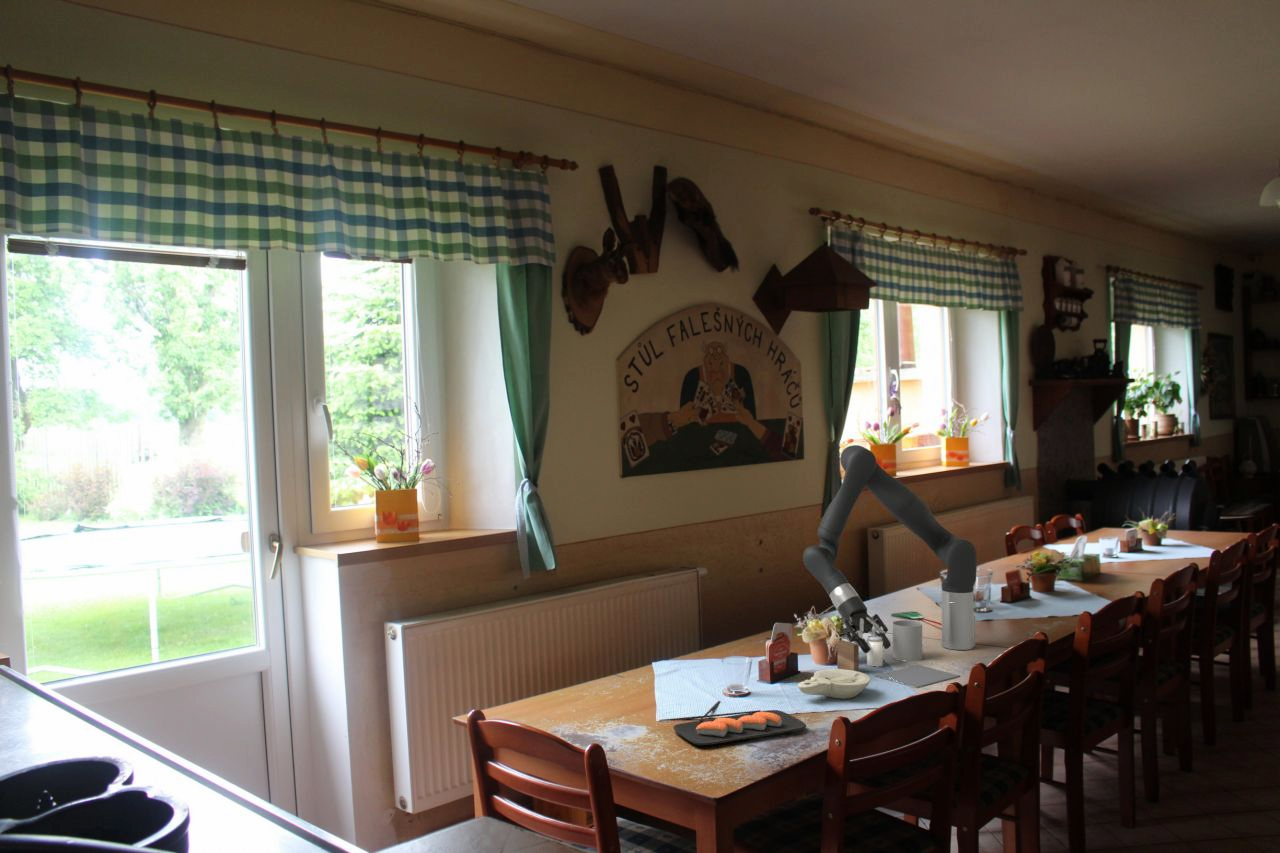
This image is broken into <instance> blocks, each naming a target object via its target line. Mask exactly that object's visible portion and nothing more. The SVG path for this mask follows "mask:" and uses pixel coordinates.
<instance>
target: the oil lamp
mask: <svg viewBox="0 0 1280 853" xmlns="http://www.w3.org/2000/svg"><path fill="white" fill-rule="evenodd" d="M870 683H871V678H870V676H869V675H867V674H866V673H863V672H860V671H859V672H857V671H853V670H845V669H838V668H830V669H829V668H828V669H827V668H826V669H819V670H816V671H815V672H814V673H813V676H811V677H810V679H805V680H803V681H800V682H799V683H797V687H798V689H799V690H800V692H801V693H803V694H805V695H809V696H824V697H828V698H834V699H846V700H847V698H848V699H852V698H854V697H856V696H857V695H859V694H861V692H862V691H863V690H864V689H866V687H868V686H869V684H870Z"/></svg>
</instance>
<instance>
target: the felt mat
mask: <svg viewBox="0 0 1280 853" xmlns="http://www.w3.org/2000/svg"><path fill="white" fill-rule="evenodd" d="M876 676H879V677H882V678H881V679H883V678H886V679H885V680H887V679H889V677H890V678H891V677H892V678H893V679H894V680H895V681H896V680H897V681H898V682H902V683H904V684H908V685H911V686H914V687H913V688H915V687H919V688H921V687H920V686H923V687H926V686H930V685H934V684H937V683H941V682H944V681H945V682H946V681H948V680H949V681H950V680H953V679H956V678H959V677H961V674H960V675H959V674H957V673H952V672H948V671H945V670H941V669H937V668H932V667H929V666H925V665H922V664H915V665H912V666H908V667H903V668H900V669H895V670H892V671H887V672H883V673H879V674H875V676H874V677H876ZM879 677H878V678H879ZM892 678H891V680H893V679H892ZM904 684H903V685H904ZM908 685H907V686H908ZM911 686H910V687H911Z"/></svg>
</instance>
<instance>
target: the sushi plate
mask: <svg viewBox="0 0 1280 853" xmlns="http://www.w3.org/2000/svg"><path fill="white" fill-rule="evenodd" d="M721 702H722V701H720V700H718V701H716V702H715V704H713V706H712V707H711V708H709V710H708V711H707V712H706V713H704V714H703V715H697V716H696V715H695V716H686V717H673V718H665V719H659V720H658V721H659V722H660V721H662V722H663V721H664V722H665V721H666V722H667V721H671V722H672V721H688V722H682V723H678V724H675V725H674V726H673V730H674V732H676V734H679V735H680V736H681V737H682V738H684V739H685V740H687V741H688V742H690V743H692V744H694V745H697V746H709V745H710V746H711V745H716V744H717V745H718V744H723V743H730V742H735V741H742V740H746V739H754V738H759V737H766V736H773V735H778V734H784V733H790V732H796V731H802V730H805V729H806V728H807V724H806V723H805V722H804V721H802V720H800V719H799V718H798V717H797V718H796V717H795V716H793V715H791V714H789V713H787V712H785V711H782V710H780V709H779V710H777V709H771V710H749V711H748V710H747V711H738V712H737V711H736V712H730V713H718V714H710V713H711V712H712V711H714V710H715V709H716V708H717V707H718V706H719V705H720V703H721ZM709 714H710V715H709ZM705 718H708V719H705ZM697 719H699V720H697ZM690 720H695V721H690Z"/></svg>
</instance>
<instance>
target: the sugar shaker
mask: <svg viewBox="0 0 1280 853" xmlns="http://www.w3.org/2000/svg"><path fill="white" fill-rule="evenodd" d="M866 642H867V644H868V645H869V647H870V649H871V650H870V651H869V652H868V653H866V666H868V665H869V666H868V667H870V666H876V667H875V668H879V667H878V666H882V667H883V666H884V646H883V640H882V637H881V636H876V635H871V634H870V635H868V636H867V640H866Z"/></svg>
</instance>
